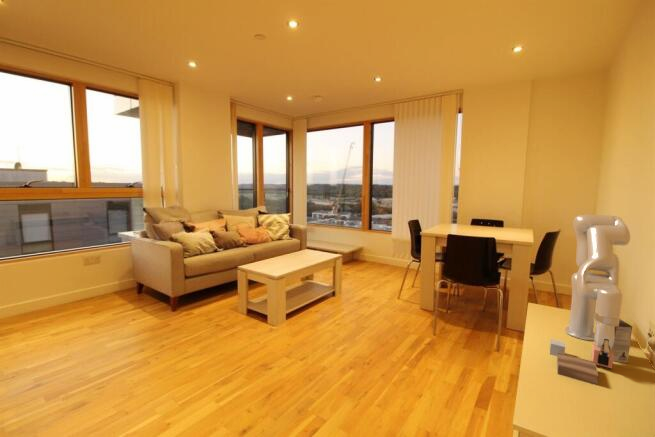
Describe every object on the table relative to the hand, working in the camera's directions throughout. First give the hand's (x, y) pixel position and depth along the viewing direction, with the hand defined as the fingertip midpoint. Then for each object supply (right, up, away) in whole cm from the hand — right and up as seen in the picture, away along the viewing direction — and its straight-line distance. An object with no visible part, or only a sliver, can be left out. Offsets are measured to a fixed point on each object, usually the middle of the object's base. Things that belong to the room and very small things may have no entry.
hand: (601, 360), depth 131 cm
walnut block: (-15, -3, -5) cm, 16 cm away
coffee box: (+11, -2, +7) cm, 14 cm away
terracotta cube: (0, -1, 0) cm, 1 cm away
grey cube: (-12, -1, +9) cm, 15 cm away
